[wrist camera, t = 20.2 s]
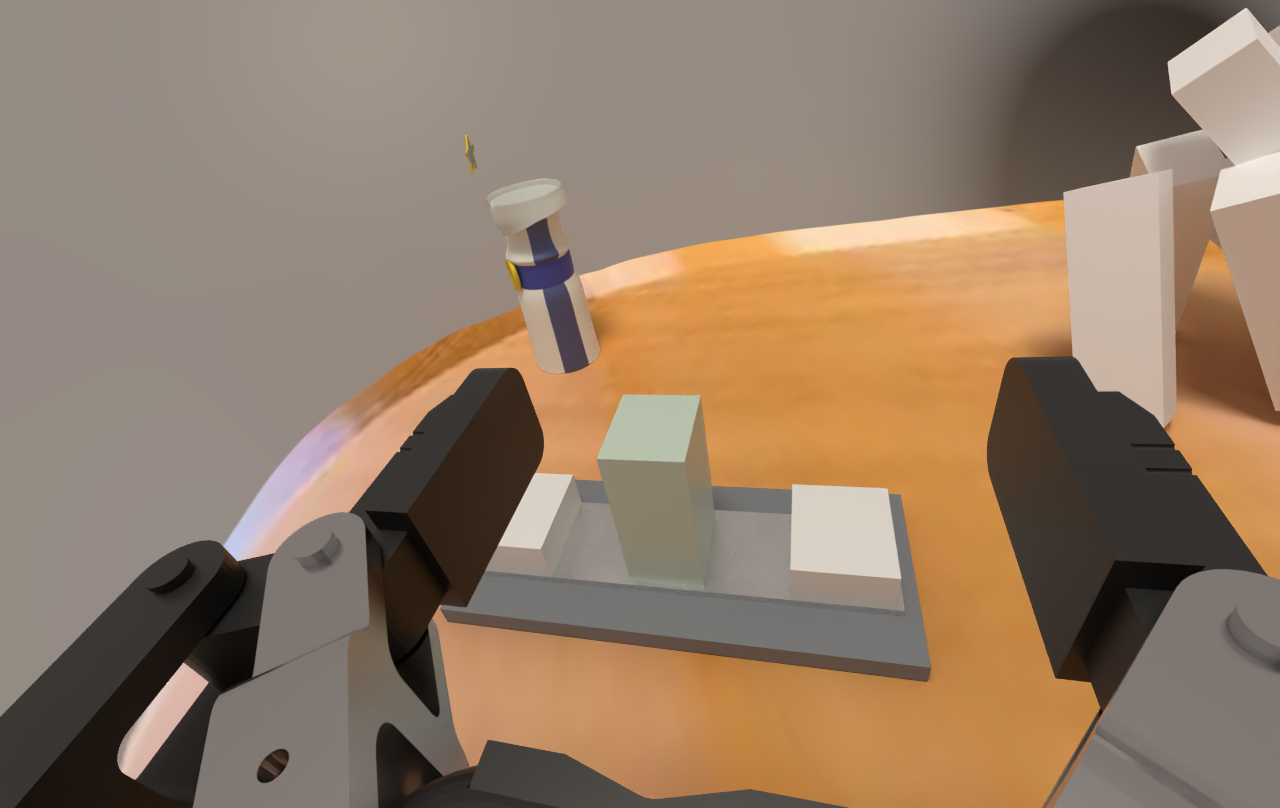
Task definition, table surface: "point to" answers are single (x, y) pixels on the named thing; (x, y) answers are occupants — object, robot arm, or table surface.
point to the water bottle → (544, 272)
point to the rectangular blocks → (820, 540)
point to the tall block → (660, 487)
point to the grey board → (716, 611)
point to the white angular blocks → (1184, 222)
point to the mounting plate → (737, 565)
